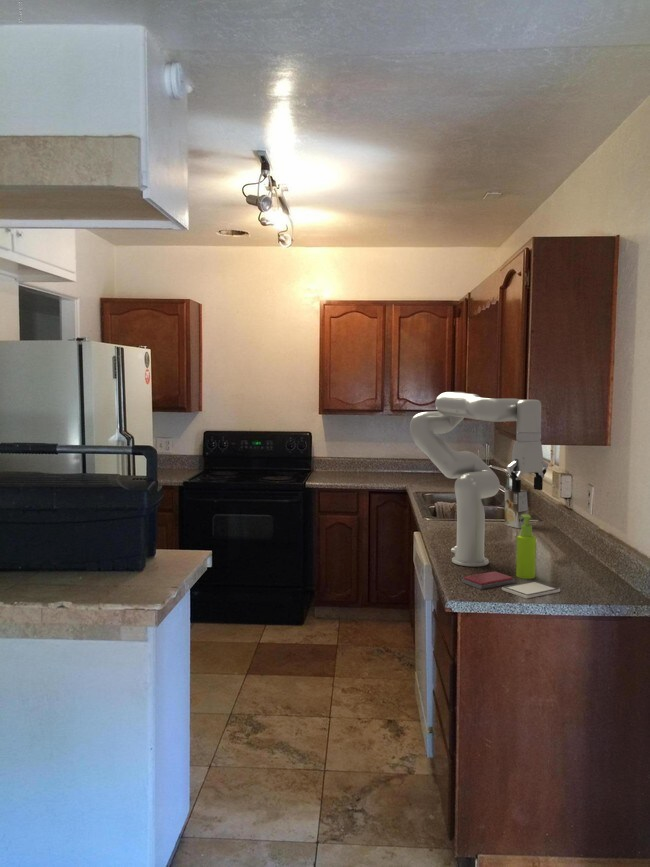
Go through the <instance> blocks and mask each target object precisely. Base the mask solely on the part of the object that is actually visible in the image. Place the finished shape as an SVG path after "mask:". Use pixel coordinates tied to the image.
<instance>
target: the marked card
mask: <svg viewBox="0 0 650 867" xmlns="http://www.w3.org/2000/svg"><path fill="white" fill-rule="evenodd" d="M501 590H502V591H503V592H507V593H510V594H512V595H515V596H518V597H521V598H523V599H526V600H527V599H531V598H537V597H540V596H546V595H550V594H556V593H561V588H559V587H556V586H552V585H549V584H545V583H543V582H540V581H538V580H530V581H525V582H521V583H520V582H519V583H513V584H508V585H503V586H501Z"/></svg>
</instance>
